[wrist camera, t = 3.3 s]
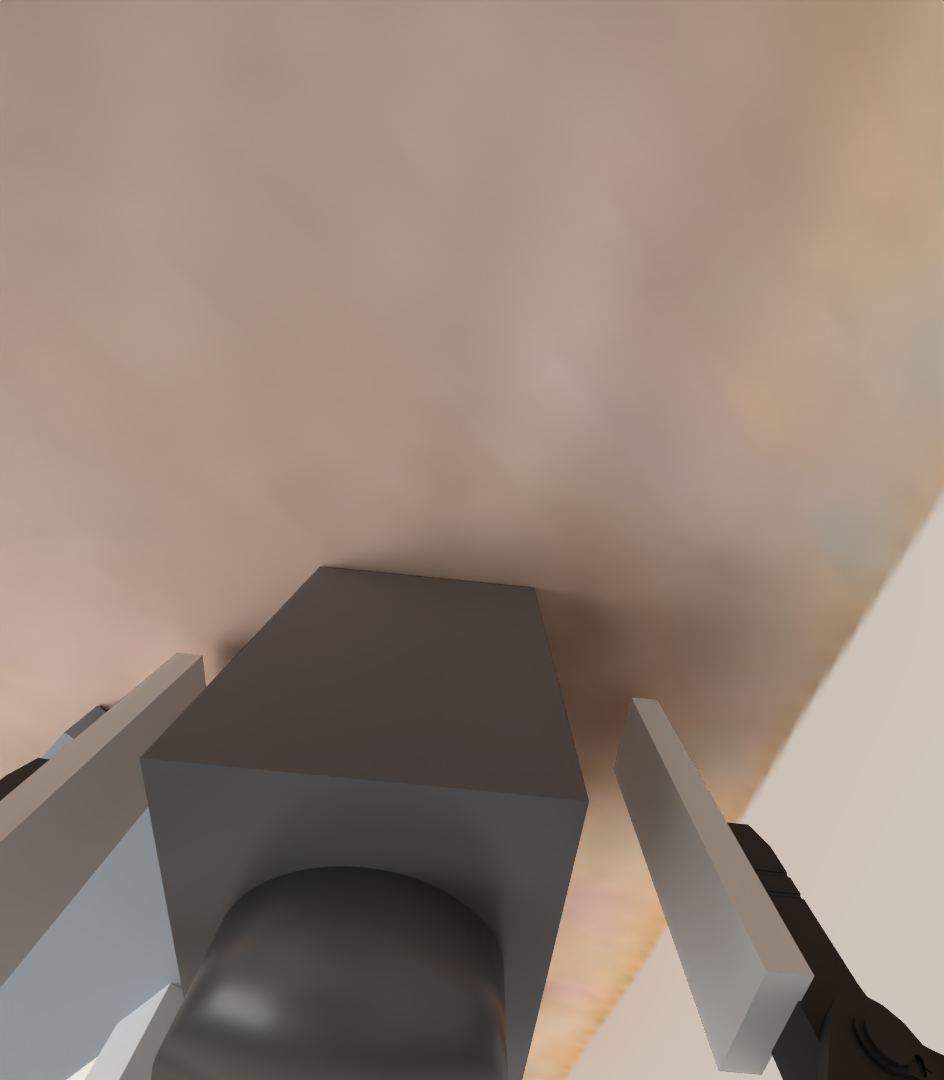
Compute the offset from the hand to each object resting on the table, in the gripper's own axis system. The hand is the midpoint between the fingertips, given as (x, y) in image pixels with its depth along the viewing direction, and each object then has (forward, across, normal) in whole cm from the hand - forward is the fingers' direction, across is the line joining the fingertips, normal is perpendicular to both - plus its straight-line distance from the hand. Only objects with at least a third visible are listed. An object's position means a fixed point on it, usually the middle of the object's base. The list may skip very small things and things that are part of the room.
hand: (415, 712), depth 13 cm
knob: (+1, 0, 0) cm, 1 cm away
